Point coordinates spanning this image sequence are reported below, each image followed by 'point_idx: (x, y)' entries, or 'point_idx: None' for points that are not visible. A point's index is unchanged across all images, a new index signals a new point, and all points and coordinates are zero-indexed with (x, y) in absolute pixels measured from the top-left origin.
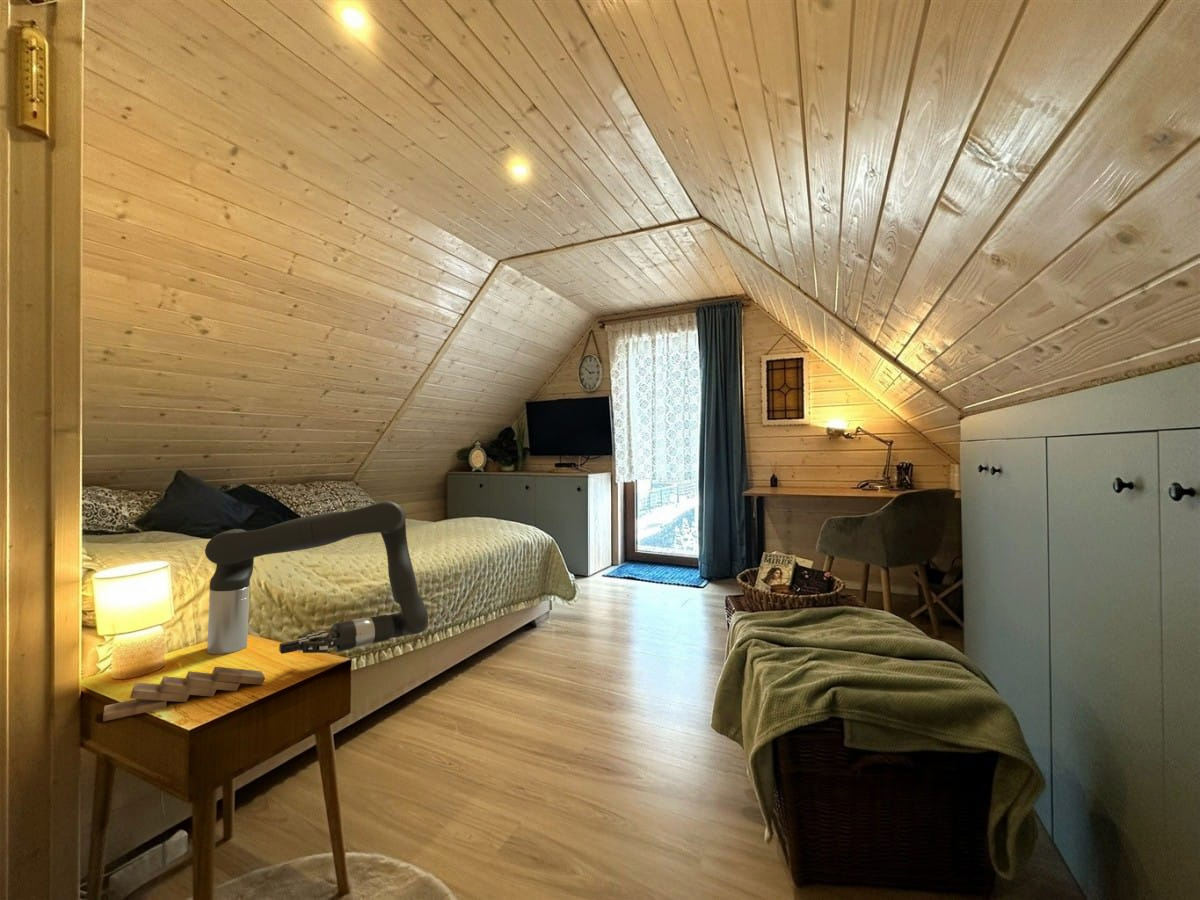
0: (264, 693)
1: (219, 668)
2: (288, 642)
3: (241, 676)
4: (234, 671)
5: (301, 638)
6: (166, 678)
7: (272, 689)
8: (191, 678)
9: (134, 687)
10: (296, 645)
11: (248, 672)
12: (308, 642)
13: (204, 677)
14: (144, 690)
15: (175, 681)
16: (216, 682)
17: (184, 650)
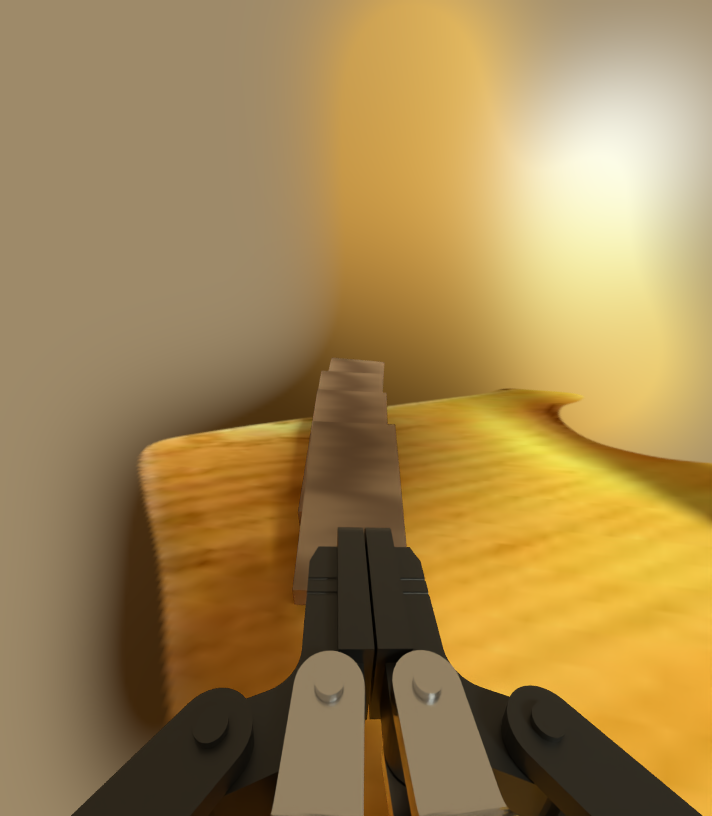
0: (188, 599)
1: (376, 433)
2: (378, 572)
3: (305, 491)
4: (356, 473)
5: (453, 724)
6: (366, 377)
7: (202, 637)
8: (320, 392)
9: (350, 359)
10: (303, 650)
11: (362, 524)
12: (165, 772)
13: (340, 419)
14: (334, 369)
15: (348, 389)
16: (308, 446)
17: None
